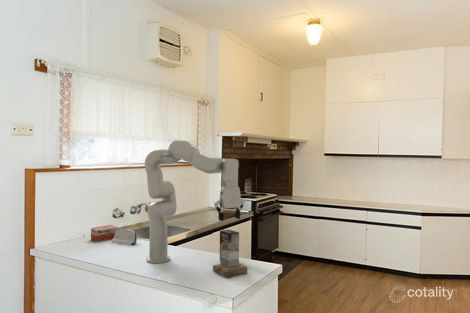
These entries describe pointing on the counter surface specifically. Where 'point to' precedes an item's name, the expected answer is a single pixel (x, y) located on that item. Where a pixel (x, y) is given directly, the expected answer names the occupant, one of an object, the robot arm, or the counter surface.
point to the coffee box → (229, 240)
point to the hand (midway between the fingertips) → (229, 219)
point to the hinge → (125, 237)
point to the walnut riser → (229, 270)
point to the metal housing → (229, 258)
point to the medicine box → (103, 233)
